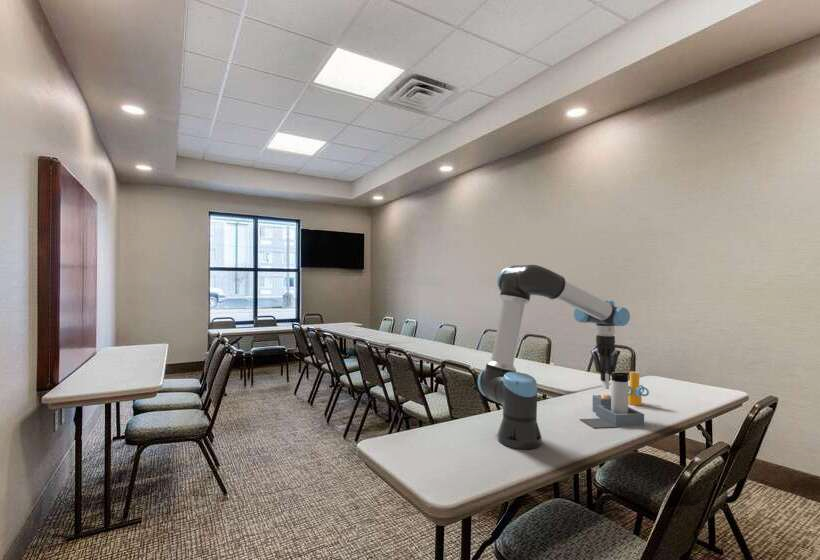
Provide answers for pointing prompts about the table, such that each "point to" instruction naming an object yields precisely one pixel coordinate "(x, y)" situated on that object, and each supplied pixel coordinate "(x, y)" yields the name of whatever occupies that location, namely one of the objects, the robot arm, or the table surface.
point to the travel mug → (619, 393)
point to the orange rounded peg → (604, 396)
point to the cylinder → (635, 389)
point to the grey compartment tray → (604, 411)
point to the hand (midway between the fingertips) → (605, 388)
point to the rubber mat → (598, 423)
